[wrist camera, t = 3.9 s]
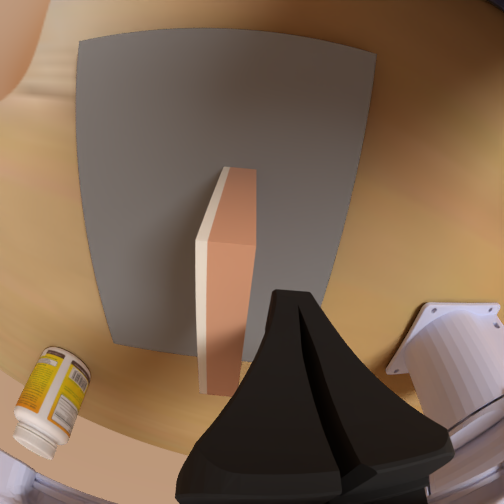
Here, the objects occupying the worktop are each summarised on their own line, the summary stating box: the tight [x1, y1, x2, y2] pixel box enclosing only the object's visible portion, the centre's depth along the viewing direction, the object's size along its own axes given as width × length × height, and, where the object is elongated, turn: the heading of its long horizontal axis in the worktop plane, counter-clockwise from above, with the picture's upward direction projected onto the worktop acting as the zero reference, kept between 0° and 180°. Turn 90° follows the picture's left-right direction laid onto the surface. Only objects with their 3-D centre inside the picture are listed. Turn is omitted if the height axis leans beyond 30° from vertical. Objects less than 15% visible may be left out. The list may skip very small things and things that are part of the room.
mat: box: [76, 28, 377, 362], centre depth 15 cm, size 14×20×1 cm
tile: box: [195, 167, 256, 397], centre depth 12 cm, size 2×7×7 cm, turn 174°
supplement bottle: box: [13, 347, 91, 460], centre depth 19 cm, size 6×6×10 cm
